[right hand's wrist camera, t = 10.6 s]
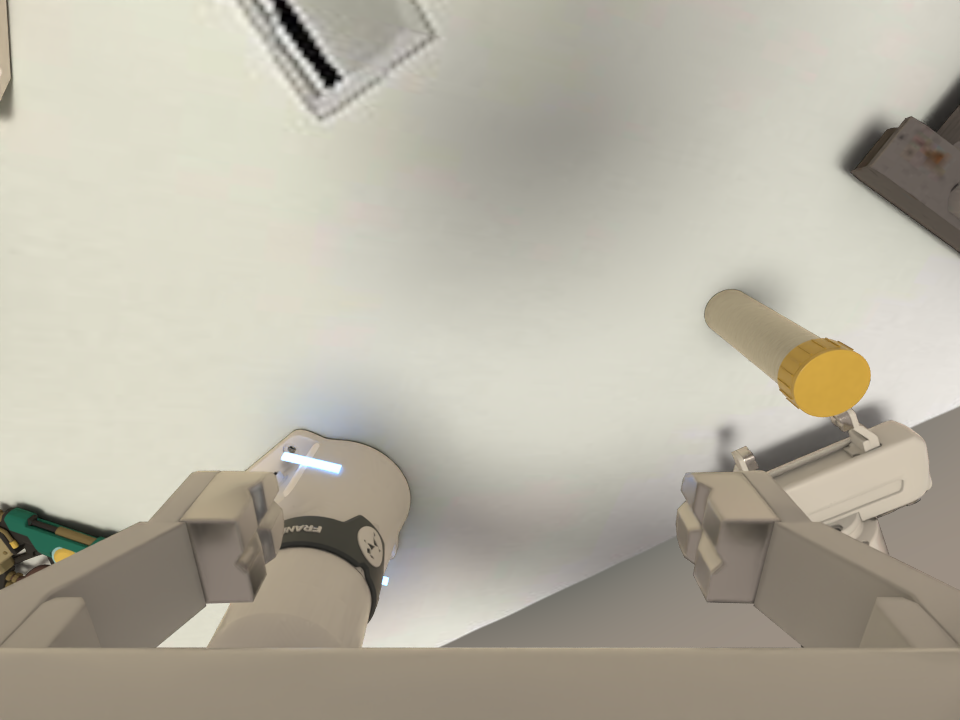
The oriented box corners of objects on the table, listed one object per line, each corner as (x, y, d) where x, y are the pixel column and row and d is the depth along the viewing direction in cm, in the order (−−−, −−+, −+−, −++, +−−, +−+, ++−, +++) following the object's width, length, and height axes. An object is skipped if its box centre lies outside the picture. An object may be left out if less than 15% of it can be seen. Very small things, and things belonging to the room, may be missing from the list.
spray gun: (-24, 553, 63) (26, 467, 59) (105, 625, 66) (160, 547, 62) (-60, 579, 59) (-8, 488, 55) (79, 654, 62) (137, 573, 58)
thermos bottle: (745, 282, 50) (856, 342, 35) (754, 323, 51) (865, 397, 36) (699, 299, 50) (790, 365, 36) (710, 339, 52) (801, 418, 37)
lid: (845, 326, 36) (867, 337, 34) (855, 389, 38) (876, 403, 36) (770, 352, 37) (786, 365, 35) (783, 413, 39) (800, 428, 37)
